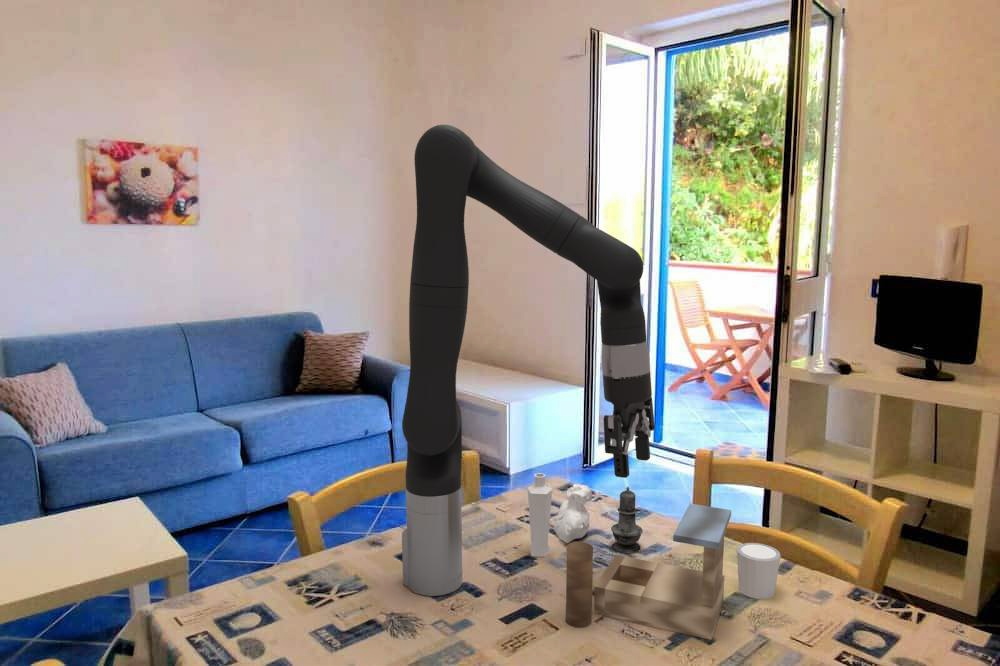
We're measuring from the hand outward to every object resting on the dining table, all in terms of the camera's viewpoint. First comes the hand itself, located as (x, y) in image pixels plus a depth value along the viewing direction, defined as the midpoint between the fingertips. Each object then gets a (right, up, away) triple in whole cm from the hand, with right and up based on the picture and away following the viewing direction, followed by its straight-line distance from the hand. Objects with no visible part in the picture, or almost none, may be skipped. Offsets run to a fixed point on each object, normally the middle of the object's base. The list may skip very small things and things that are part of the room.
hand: (633, 467), depth 119 cm
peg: (-9, -23, -5) cm, 25 cm away
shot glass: (+21, -21, +4) cm, 30 cm away
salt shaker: (+2, -19, +20) cm, 27 cm away
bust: (-7, -18, +25) cm, 32 cm away
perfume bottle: (-14, -19, +18) cm, 30 cm away
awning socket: (+4, -22, -2) cm, 22 cm away
